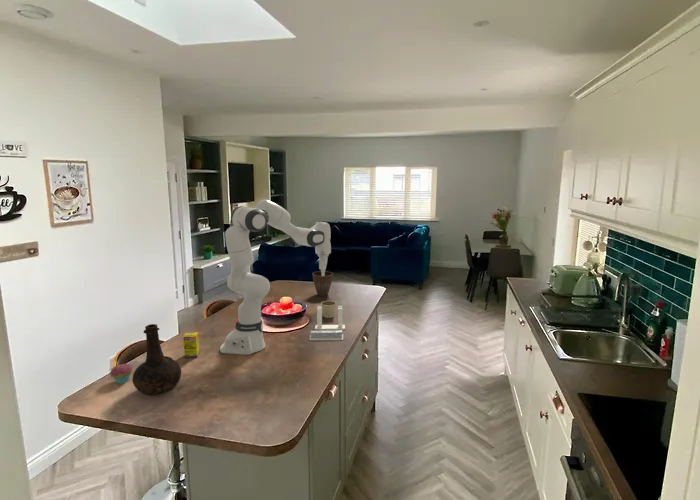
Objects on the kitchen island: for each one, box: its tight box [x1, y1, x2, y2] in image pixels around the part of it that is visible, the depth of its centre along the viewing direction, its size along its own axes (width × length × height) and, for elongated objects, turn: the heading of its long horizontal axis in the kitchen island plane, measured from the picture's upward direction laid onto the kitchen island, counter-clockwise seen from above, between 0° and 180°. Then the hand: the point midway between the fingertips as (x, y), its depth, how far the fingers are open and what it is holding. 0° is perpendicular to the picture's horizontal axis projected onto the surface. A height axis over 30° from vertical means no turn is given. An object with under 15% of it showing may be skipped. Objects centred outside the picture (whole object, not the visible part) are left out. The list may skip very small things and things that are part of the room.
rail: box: [310, 330, 343, 338], centre depth 225 cm, size 17×3×3 cm, turn 91°
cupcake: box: [109, 357, 134, 385], centre depth 178 cm, size 9×8×12 cm
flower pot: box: [320, 300, 337, 319], centre depth 258 cm, size 9×9×9 cm
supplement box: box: [182, 331, 200, 359], centre depth 203 cm, size 6×6×11 cm
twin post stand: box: [314, 305, 346, 331], centre depth 238 cm, size 17×6×12 cm, turn 91°
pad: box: [309, 333, 344, 341], centre depth 225 cm, size 18×8×1 cm, turn 91°
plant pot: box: [312, 270, 334, 297], centre depth 304 cm, size 15×15×16 cm
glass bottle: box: [132, 323, 182, 396], centre depth 169 cm, size 18×18×28 cm
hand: (323, 273), depth 237 cm, fingers open, 8 cm apart
